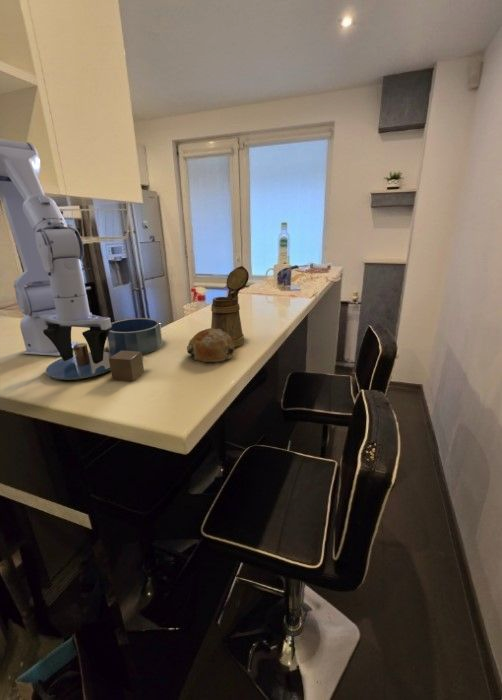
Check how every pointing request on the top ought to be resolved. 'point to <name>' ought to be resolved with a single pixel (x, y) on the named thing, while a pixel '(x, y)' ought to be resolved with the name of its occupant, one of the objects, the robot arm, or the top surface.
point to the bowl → (134, 335)
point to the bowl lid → (78, 365)
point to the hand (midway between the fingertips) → (83, 360)
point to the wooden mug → (230, 307)
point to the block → (126, 365)
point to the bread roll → (211, 346)
